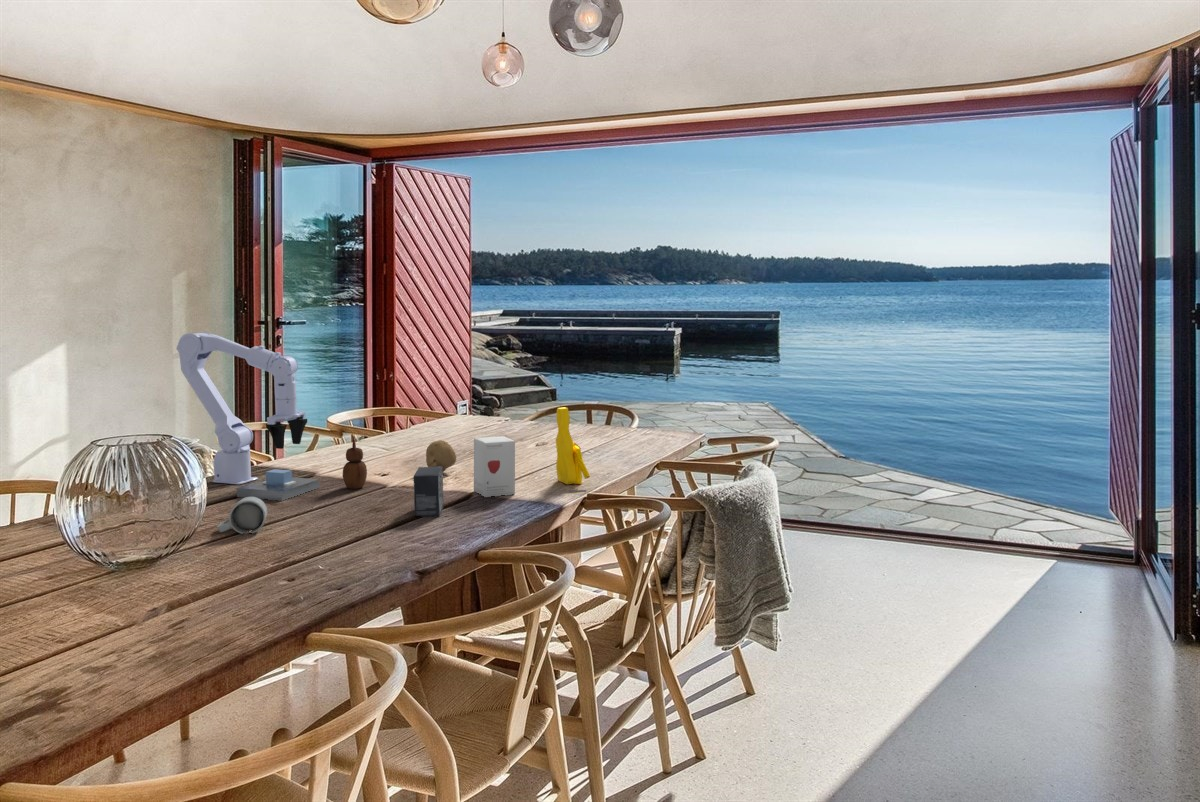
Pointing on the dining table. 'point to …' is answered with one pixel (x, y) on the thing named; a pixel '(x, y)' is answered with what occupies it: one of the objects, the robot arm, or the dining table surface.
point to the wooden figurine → (354, 468)
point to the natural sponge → (440, 455)
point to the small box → (428, 491)
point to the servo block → (279, 478)
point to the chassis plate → (277, 489)
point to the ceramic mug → (246, 516)
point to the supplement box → (494, 466)
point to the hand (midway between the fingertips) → (288, 446)
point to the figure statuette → (568, 452)
